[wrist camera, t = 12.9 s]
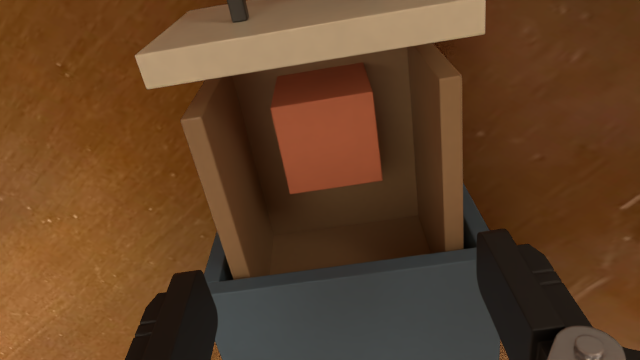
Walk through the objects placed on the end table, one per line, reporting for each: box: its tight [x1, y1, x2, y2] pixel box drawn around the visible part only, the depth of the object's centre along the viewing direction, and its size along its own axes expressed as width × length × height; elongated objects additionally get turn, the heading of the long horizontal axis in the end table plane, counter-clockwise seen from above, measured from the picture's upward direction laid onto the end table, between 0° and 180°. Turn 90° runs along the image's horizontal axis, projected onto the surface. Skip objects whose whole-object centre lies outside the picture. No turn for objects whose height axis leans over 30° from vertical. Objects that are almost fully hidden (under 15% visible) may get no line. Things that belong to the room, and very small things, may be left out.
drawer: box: [135, 0, 486, 280], centre depth 21 cm, size 18×11×8 cm, turn 9°
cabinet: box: [204, 184, 500, 360], centre depth 27 cm, size 15×13×10 cm
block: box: [270, 62, 383, 194], centre depth 22 cm, size 4×4×4 cm
